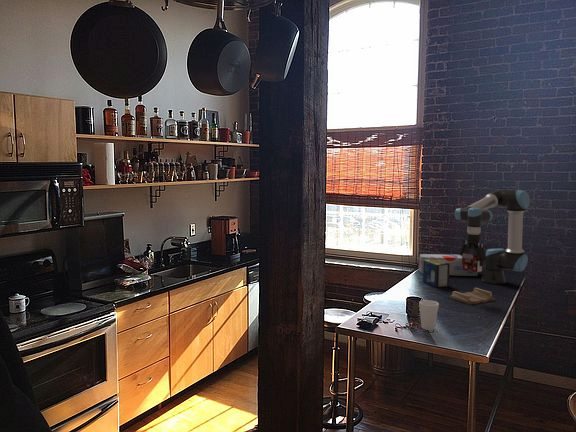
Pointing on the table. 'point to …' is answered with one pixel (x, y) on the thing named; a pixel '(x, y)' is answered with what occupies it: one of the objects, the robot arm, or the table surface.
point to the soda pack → (453, 260)
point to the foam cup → (428, 314)
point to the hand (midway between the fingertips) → (471, 269)
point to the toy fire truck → (470, 262)
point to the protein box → (436, 273)
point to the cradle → (473, 296)
